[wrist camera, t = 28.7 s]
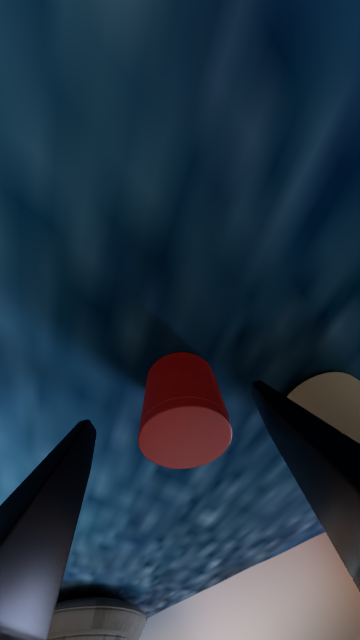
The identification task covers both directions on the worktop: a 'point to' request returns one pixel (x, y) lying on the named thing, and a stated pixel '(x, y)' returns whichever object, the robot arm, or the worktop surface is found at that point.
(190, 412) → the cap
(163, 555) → the worktop surface
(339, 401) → the bottle
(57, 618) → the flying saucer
